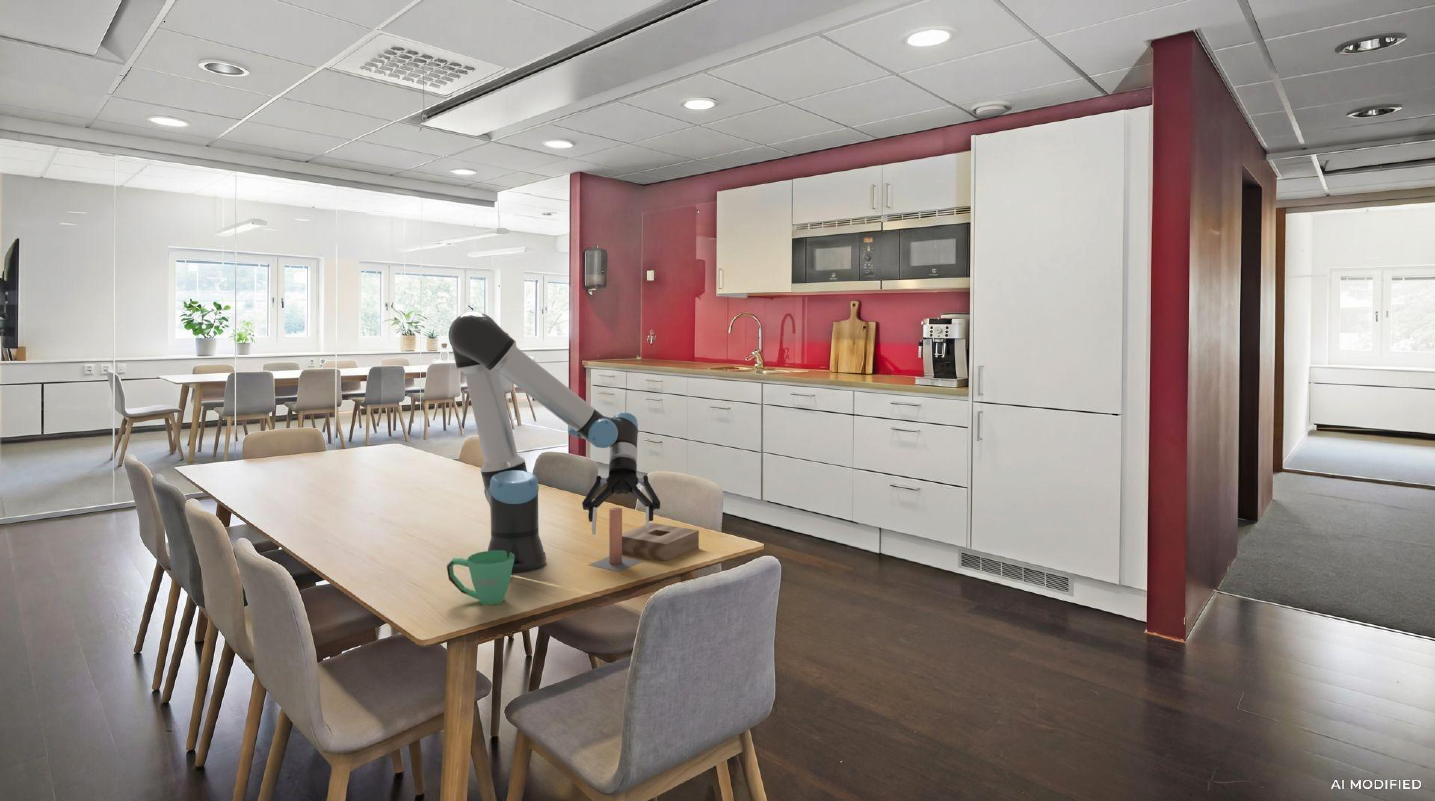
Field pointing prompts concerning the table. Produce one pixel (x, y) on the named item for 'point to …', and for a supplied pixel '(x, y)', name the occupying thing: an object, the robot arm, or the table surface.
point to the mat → (605, 565)
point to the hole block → (659, 541)
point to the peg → (615, 536)
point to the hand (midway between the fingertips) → (620, 531)
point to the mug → (485, 575)
